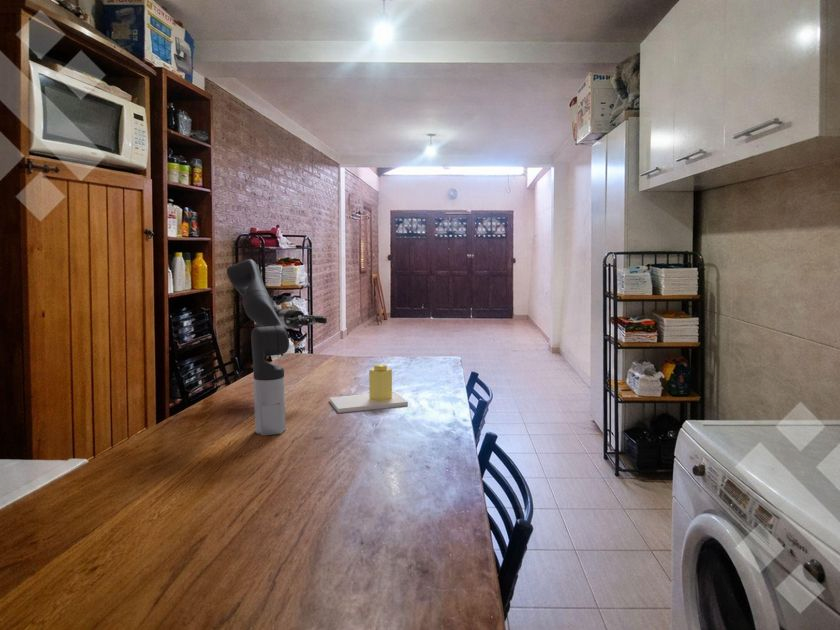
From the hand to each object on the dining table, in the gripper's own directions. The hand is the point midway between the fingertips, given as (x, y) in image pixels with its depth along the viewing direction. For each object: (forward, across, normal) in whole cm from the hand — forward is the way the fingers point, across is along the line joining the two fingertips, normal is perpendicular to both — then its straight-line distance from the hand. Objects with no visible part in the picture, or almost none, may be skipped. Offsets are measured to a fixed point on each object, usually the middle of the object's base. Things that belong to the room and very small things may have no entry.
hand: (317, 321), depth 200 cm
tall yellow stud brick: (+22, +12, +28) cm, 38 cm away
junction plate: (+20, +7, +30) cm, 37 cm away
